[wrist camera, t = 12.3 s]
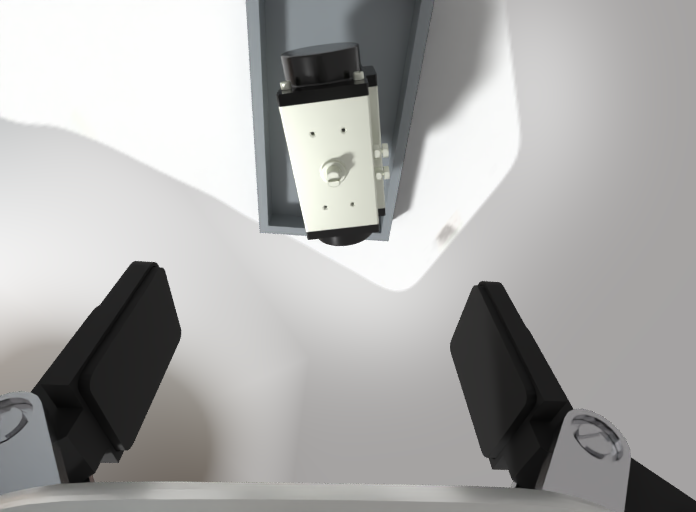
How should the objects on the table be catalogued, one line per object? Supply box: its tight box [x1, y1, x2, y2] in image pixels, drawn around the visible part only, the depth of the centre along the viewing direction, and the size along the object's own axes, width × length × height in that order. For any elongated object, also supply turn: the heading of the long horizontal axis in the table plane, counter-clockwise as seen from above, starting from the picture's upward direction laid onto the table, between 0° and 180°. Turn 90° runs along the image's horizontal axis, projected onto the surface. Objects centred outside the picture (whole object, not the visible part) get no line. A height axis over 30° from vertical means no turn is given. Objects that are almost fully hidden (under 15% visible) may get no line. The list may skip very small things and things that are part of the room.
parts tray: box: [246, 0, 434, 241], centre depth 29 cm, size 20×12×3 cm, turn 175°
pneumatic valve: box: [276, 42, 390, 246], centre depth 24 cm, size 6×12×12 cm, turn 7°
